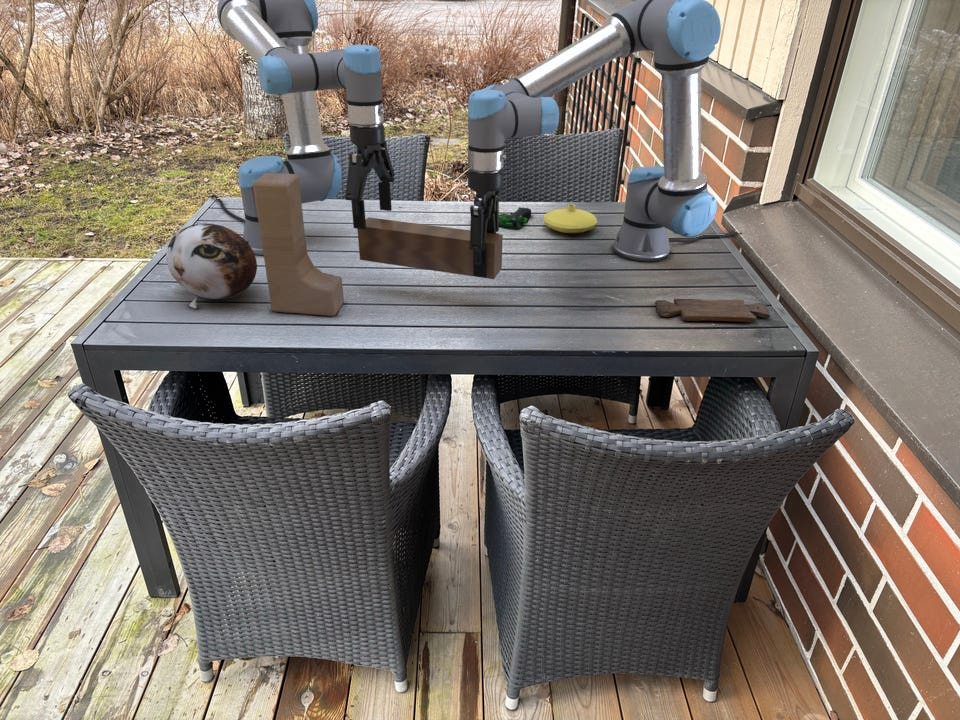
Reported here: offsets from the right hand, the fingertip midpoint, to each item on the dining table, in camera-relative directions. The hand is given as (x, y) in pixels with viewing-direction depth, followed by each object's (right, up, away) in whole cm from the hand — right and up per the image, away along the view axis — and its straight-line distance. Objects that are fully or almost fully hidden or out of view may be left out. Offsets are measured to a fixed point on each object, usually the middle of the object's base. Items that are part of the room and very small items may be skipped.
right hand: (484, 270), depth 162 cm
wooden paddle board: (+53, -10, +3) cm, 54 cm away
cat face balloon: (-63, -5, +7) cm, 64 cm away
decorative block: (-40, -8, +3) cm, 41 cm away
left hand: (-26, +12, +3) cm, 28 cm away
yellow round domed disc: (+25, +18, +49) cm, 58 cm away
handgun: (+6, +22, +55) cm, 59 cm away
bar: (-13, +2, +4) cm, 13 cm away
